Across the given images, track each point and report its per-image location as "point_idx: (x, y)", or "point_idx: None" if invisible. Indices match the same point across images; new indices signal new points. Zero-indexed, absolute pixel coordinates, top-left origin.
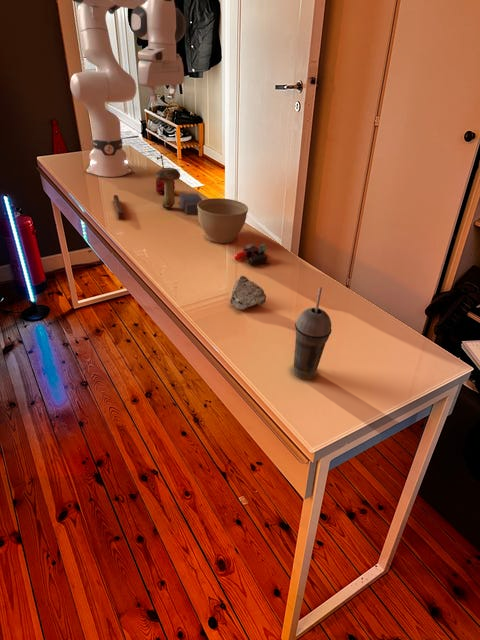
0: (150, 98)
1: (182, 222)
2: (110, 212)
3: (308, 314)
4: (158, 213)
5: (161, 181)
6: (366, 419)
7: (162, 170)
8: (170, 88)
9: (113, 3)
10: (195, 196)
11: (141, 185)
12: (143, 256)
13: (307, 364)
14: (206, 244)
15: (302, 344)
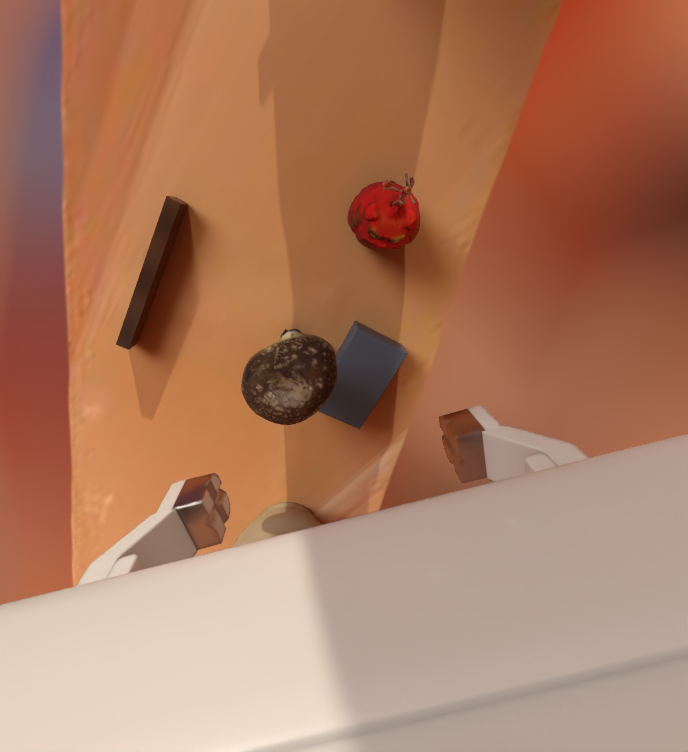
0: (168, 492)
1: (268, 430)
2: (124, 277)
3: None
4: (250, 354)
5: (359, 232)
6: None
7: (256, 395)
8: (531, 449)
9: None
10: (382, 369)
11: (362, 84)
12: (94, 517)
13: None
14: (240, 532)
15: None
